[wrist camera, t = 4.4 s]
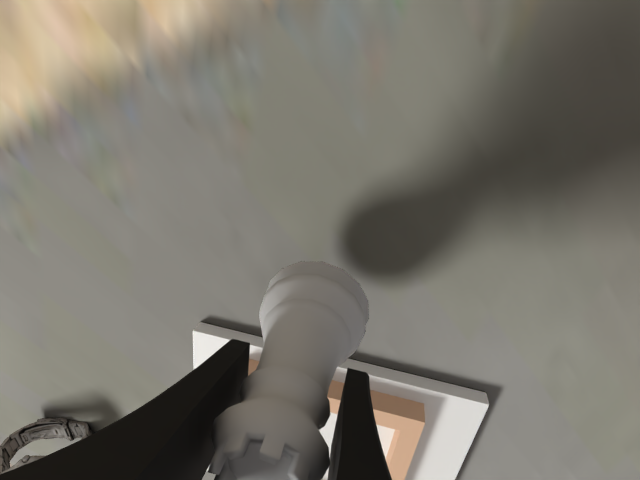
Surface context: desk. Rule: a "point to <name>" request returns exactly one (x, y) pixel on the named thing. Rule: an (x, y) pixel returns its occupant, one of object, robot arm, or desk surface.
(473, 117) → the desk surface
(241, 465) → the rook chess piece
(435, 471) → the socket holder
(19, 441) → the wristwatch
